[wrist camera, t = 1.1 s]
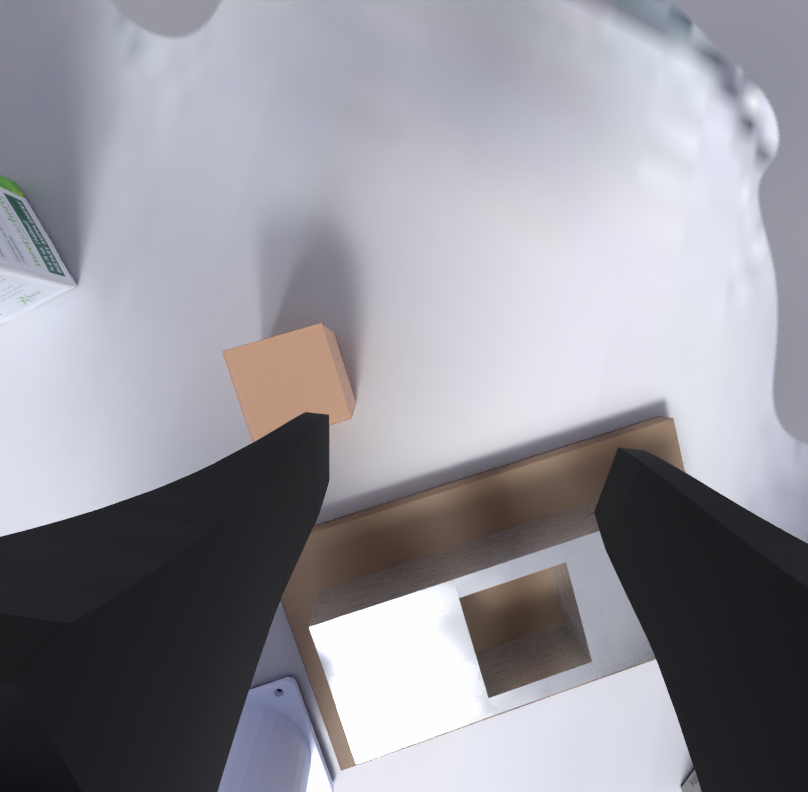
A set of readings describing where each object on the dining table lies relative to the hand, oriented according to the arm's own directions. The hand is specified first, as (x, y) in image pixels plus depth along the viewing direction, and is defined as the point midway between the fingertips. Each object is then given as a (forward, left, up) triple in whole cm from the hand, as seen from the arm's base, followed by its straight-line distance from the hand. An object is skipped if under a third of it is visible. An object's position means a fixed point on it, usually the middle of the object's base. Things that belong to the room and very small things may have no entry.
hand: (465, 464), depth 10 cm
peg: (-5, +3, -12) cm, 14 cm away
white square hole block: (+2, -12, -12) cm, 17 cm away
